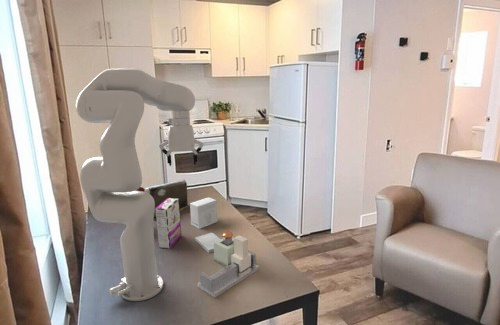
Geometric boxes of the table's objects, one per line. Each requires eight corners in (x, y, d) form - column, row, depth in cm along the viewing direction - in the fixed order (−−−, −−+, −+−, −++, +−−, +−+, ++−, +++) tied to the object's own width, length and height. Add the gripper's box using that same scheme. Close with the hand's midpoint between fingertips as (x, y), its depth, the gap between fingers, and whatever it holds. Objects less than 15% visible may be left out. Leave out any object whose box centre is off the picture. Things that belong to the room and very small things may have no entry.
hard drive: (227, 244, 125) (212, 231, 135) (208, 250, 121) (194, 237, 131) (227, 248, 126) (213, 235, 136) (208, 254, 121) (194, 240, 131)
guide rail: (214, 297, 96) (214, 282, 95) (197, 286, 101) (196, 271, 100) (259, 269, 110) (259, 255, 109) (242, 260, 116) (241, 247, 114)
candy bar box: (170, 234, 135) (167, 197, 131) (181, 235, 134) (179, 198, 130) (157, 248, 125) (154, 208, 121) (170, 249, 124) (167, 209, 120)
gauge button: (227, 255, 113) (227, 237, 111) (220, 251, 115) (220, 233, 114) (235, 251, 115) (234, 233, 114) (228, 247, 118) (227, 230, 116)
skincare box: (209, 217, 152) (208, 196, 149) (218, 221, 147) (217, 200, 145) (190, 224, 145) (189, 202, 142) (199, 229, 140) (198, 206, 137)
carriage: (240, 272, 106) (240, 243, 104) (231, 267, 109) (230, 238, 107) (251, 265, 110) (251, 237, 107) (241, 261, 113) (241, 233, 110)
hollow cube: (227, 267, 111) (227, 249, 110) (214, 260, 116) (213, 242, 114) (242, 259, 116) (241, 241, 115) (228, 252, 121) (228, 235, 119)
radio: (185, 202, 170) (184, 175, 166) (194, 207, 164) (193, 179, 160) (143, 215, 155) (140, 185, 151) (151, 220, 149) (148, 190, 145)
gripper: (156, 124, 123) (160, 167, 127) (203, 122, 126) (204, 165, 130) (158, 121, 130) (161, 163, 134) (201, 120, 133) (203, 161, 137)
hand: (182, 164), depth 132 cm, fingers open, 9 cm apart
